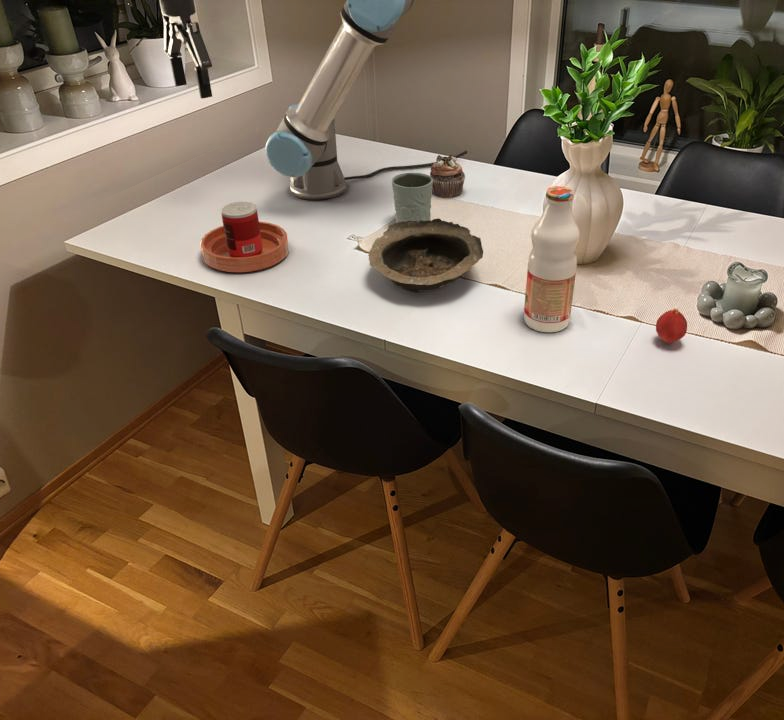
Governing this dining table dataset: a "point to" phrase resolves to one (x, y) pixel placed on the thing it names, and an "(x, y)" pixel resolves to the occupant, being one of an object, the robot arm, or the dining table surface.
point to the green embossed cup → (412, 196)
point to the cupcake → (447, 177)
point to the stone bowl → (425, 253)
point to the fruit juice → (552, 264)
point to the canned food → (242, 229)
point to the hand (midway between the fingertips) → (193, 91)
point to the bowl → (221, 260)
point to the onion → (671, 326)
